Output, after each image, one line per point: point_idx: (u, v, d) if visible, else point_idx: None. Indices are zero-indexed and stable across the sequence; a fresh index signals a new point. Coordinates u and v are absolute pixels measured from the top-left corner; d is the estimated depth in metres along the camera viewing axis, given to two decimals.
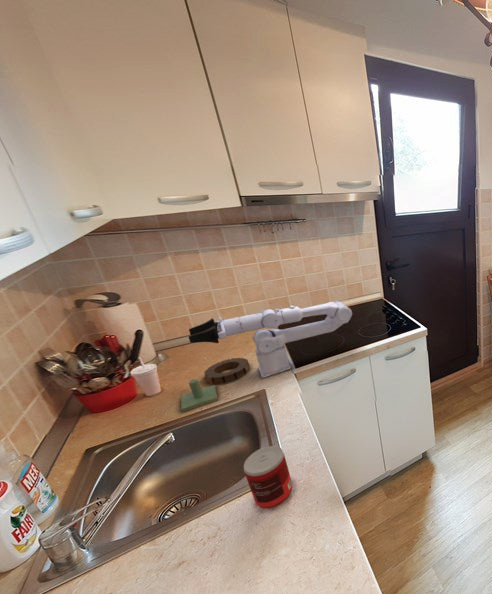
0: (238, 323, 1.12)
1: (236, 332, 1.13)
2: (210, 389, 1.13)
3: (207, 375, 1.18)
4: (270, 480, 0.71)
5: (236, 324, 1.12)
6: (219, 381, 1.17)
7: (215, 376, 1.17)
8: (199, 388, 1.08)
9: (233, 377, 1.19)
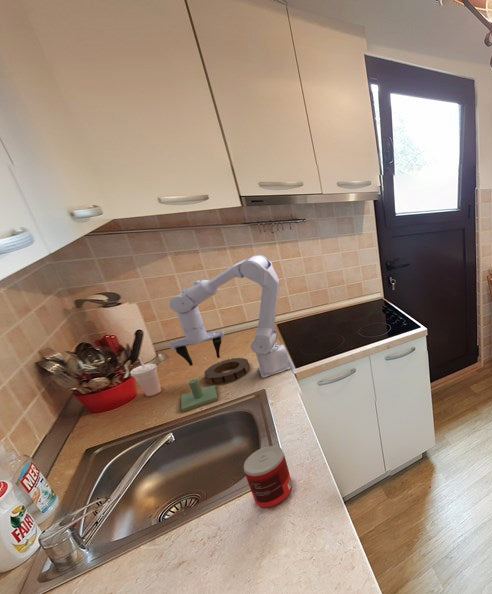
0: None
1: (186, 334, 1.11)
2: (210, 389, 1.13)
3: (207, 375, 1.18)
4: (270, 480, 0.71)
5: None
6: (219, 381, 1.17)
7: (215, 376, 1.17)
8: (199, 388, 1.08)
9: (233, 377, 1.19)
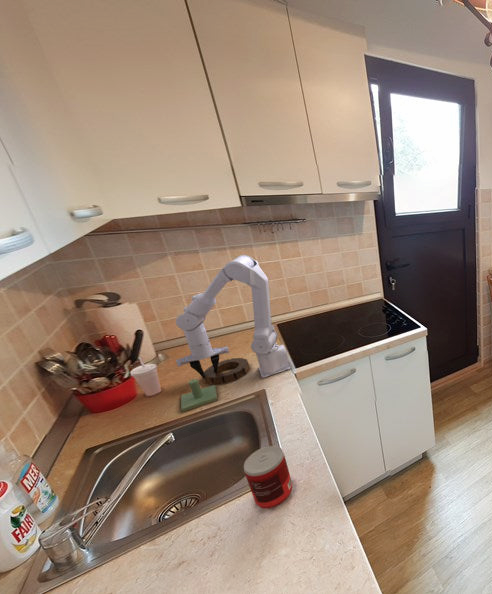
0: None
1: (192, 350, 1.13)
2: (210, 389, 1.13)
3: (207, 375, 1.18)
4: (270, 480, 0.71)
5: None
6: (218, 381, 1.17)
7: (215, 376, 1.17)
8: (199, 388, 1.08)
9: (233, 377, 1.19)
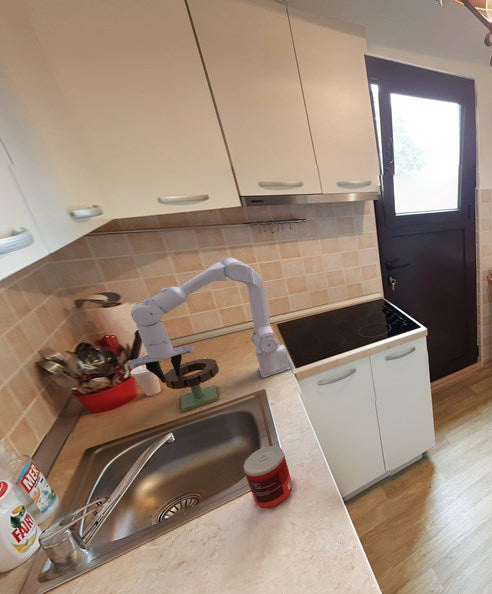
0: None
1: (147, 350, 0.97)
2: (210, 389, 1.13)
3: (166, 379, 1.02)
4: (270, 480, 0.71)
5: None
6: (180, 385, 1.01)
7: (175, 380, 1.01)
8: (199, 388, 1.08)
9: (197, 381, 1.03)
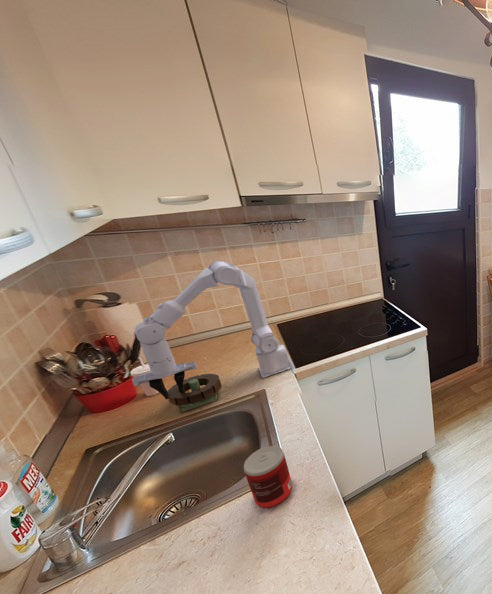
0: None
1: (151, 367, 0.98)
2: None
3: (170, 395, 1.03)
4: (270, 480, 0.71)
5: None
6: (183, 402, 1.02)
7: (179, 396, 1.02)
8: (199, 388, 1.08)
9: (200, 397, 1.04)
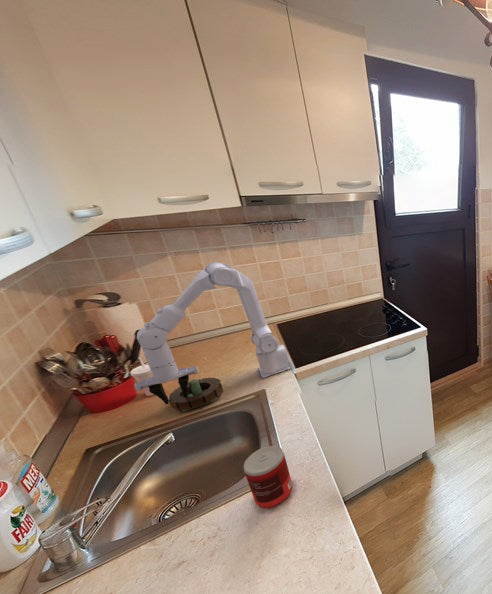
0: None
1: (153, 372, 0.99)
2: None
3: (171, 399, 1.03)
4: (270, 480, 0.71)
5: None
6: (184, 406, 1.03)
7: (180, 401, 1.03)
8: (199, 388, 1.08)
9: (201, 401, 1.05)
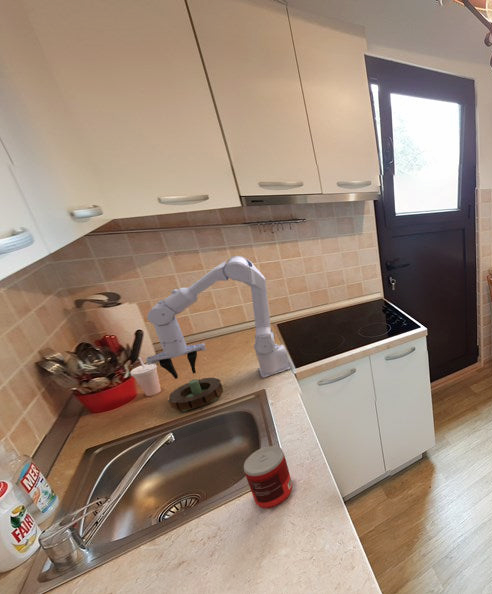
0: None
1: (163, 347, 1.05)
2: None
3: (171, 399, 1.03)
4: (270, 480, 0.71)
5: None
6: (184, 406, 1.03)
7: (180, 401, 1.03)
8: (199, 388, 1.08)
9: (201, 401, 1.05)
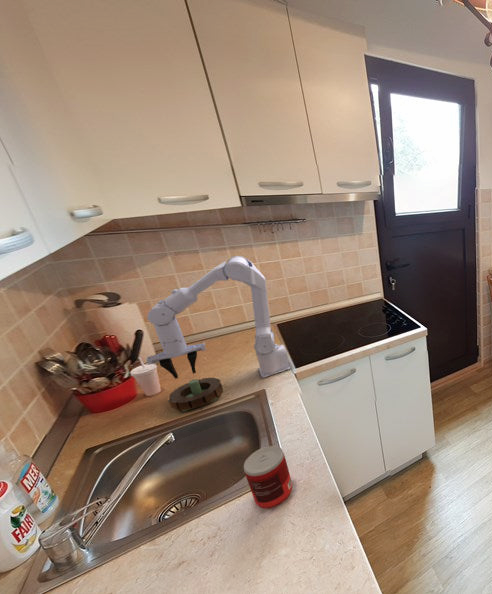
0: None
1: (164, 347, 1.05)
2: None
3: (171, 399, 1.03)
4: (270, 480, 0.71)
5: None
6: (184, 406, 1.03)
7: (180, 401, 1.03)
8: (199, 388, 1.08)
9: (201, 401, 1.05)
